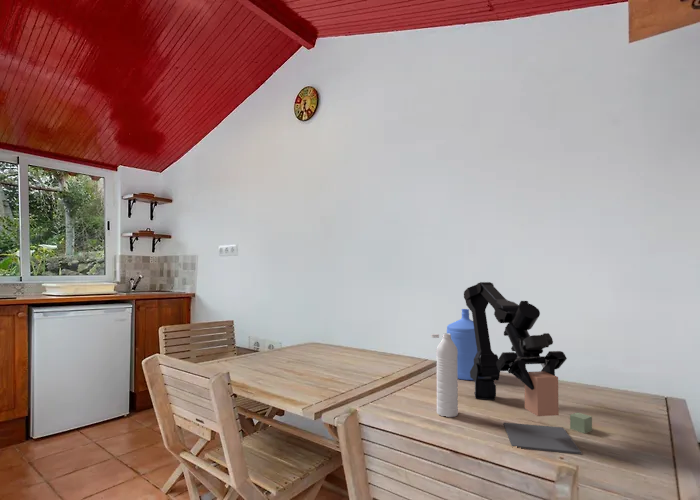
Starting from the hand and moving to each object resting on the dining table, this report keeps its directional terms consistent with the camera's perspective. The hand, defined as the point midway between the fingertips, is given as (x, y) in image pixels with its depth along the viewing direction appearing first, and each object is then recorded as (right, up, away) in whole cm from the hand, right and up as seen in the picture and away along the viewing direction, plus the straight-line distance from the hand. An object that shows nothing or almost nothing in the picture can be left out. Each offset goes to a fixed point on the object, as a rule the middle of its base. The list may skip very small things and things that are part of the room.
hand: (544, 388), depth 109 cm
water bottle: (-23, -14, +18) cm, 32 cm away
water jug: (-3, -16, +64) cm, 66 cm away
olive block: (+14, -14, +6) cm, 21 cm away
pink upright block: (0, -7, +1) cm, 7 cm away
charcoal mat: (-1, -14, +1) cm, 14 cm away
